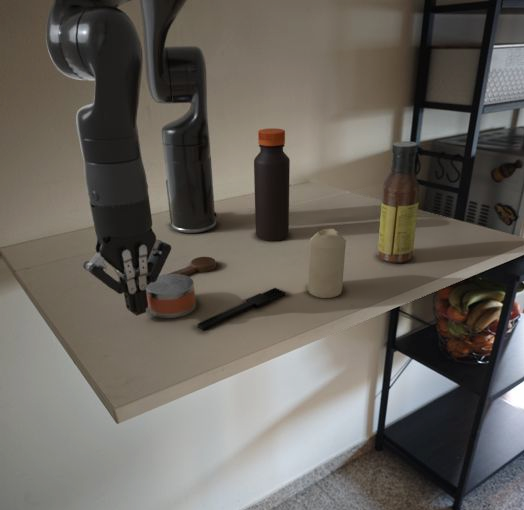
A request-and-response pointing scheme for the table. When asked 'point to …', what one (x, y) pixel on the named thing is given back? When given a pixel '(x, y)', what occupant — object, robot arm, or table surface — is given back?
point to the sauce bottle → (399, 205)
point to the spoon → (198, 266)
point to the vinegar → (271, 186)
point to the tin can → (171, 296)
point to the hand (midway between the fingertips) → (138, 312)
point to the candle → (326, 263)
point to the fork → (243, 307)
